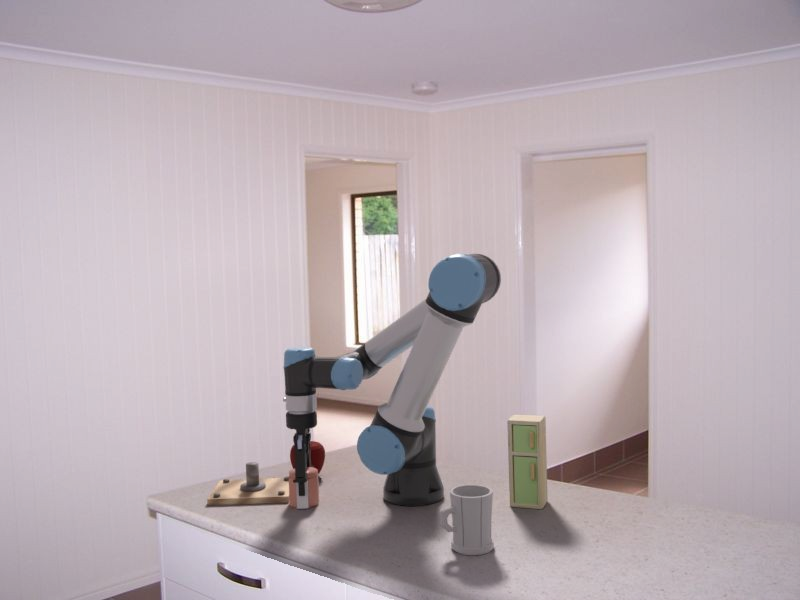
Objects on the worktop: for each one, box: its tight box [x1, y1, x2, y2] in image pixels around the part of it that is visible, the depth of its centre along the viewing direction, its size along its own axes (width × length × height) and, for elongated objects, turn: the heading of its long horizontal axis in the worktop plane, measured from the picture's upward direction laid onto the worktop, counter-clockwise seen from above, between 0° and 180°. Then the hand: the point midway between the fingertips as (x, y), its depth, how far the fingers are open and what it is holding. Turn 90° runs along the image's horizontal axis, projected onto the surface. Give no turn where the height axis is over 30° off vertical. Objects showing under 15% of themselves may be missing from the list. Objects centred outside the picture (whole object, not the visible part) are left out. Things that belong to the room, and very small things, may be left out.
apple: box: [289, 440, 326, 475], centre depth 214 cm, size 10×10×10 cm
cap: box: [288, 467, 320, 509], centre depth 192 cm, size 7×7×8 cm
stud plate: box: [206, 461, 290, 506], centre depth 201 cm, size 20×16×8 cm
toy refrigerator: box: [507, 413, 549, 510], centre depth 186 cm, size 8×7×21 cm
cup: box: [439, 484, 495, 556], centre depth 160 cm, size 10×9×12 cm
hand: (304, 502), depth 192 cm, fingers open, 8 cm apart
